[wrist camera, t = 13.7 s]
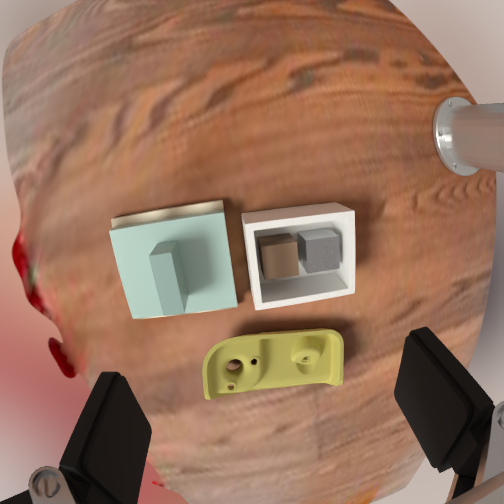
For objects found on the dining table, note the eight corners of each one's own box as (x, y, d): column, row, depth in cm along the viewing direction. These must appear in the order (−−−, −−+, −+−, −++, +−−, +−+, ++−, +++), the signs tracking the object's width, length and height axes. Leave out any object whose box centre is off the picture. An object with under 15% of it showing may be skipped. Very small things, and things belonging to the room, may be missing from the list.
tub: (335, 202, 37) (354, 210, 31) (337, 274, 40) (354, 293, 34) (241, 213, 36) (244, 224, 31) (250, 288, 39) (255, 310, 34)
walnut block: (289, 232, 37) (297, 241, 33) (291, 263, 38) (299, 275, 34) (256, 237, 36) (261, 246, 33) (260, 267, 38) (264, 280, 34)
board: (222, 199, 35) (222, 200, 34) (237, 303, 40) (238, 307, 39) (113, 217, 35) (111, 219, 34) (139, 315, 39) (137, 319, 38)
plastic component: (343, 327, 40) (342, 393, 39) (323, 323, 48) (323, 381, 46) (200, 337, 37) (204, 408, 35) (200, 330, 44) (203, 391, 43)
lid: (223, 209, 35) (224, 221, 29) (236, 299, 39) (239, 325, 33) (114, 227, 34) (94, 241, 28) (136, 312, 38) (123, 337, 32)
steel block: (327, 227, 37) (339, 235, 33) (328, 257, 38) (339, 268, 34) (297, 231, 37) (305, 240, 33) (299, 261, 38) (307, 273, 34)
